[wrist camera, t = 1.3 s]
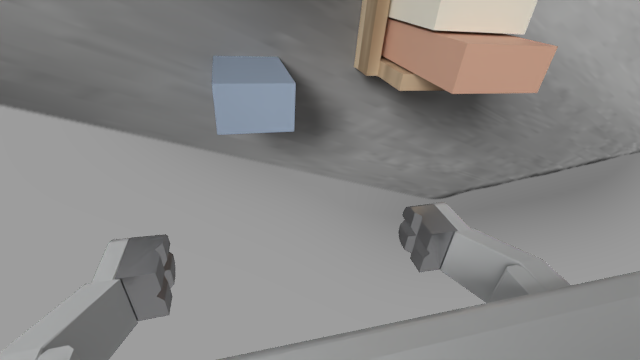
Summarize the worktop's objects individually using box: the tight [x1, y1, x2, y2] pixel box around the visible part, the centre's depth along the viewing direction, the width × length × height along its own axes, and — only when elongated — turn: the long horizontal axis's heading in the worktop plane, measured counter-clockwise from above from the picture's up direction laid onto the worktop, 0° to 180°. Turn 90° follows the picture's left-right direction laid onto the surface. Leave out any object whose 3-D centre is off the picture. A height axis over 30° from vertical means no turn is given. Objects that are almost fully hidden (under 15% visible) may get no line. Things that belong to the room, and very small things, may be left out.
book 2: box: [381, 18, 558, 94], centre depth 23 cm, size 6×3×11 cm, turn 86°
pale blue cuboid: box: [212, 56, 296, 135], centre depth 24 cm, size 5×3×8 cm, turn 86°
